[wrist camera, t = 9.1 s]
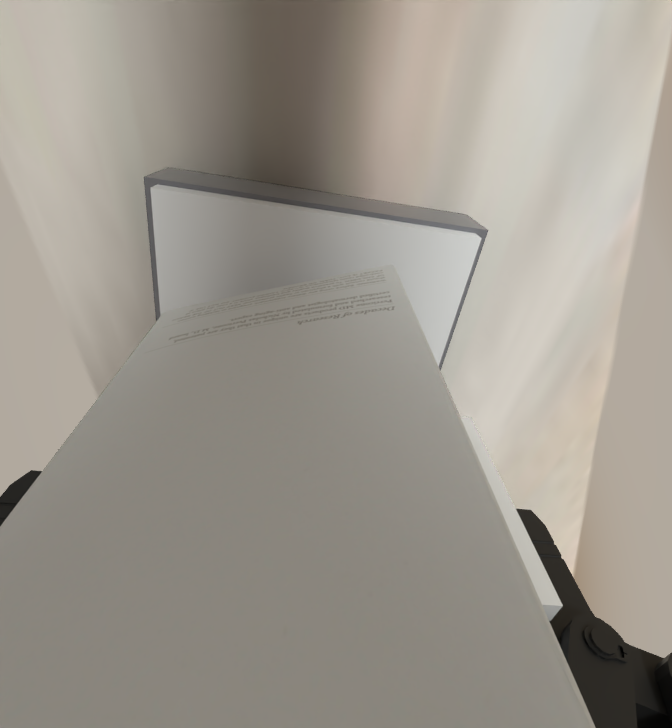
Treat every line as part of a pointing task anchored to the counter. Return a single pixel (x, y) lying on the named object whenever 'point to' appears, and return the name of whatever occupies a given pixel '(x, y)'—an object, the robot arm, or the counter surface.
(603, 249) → the counter surface
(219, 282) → the kitchen scale
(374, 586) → the supplement box
